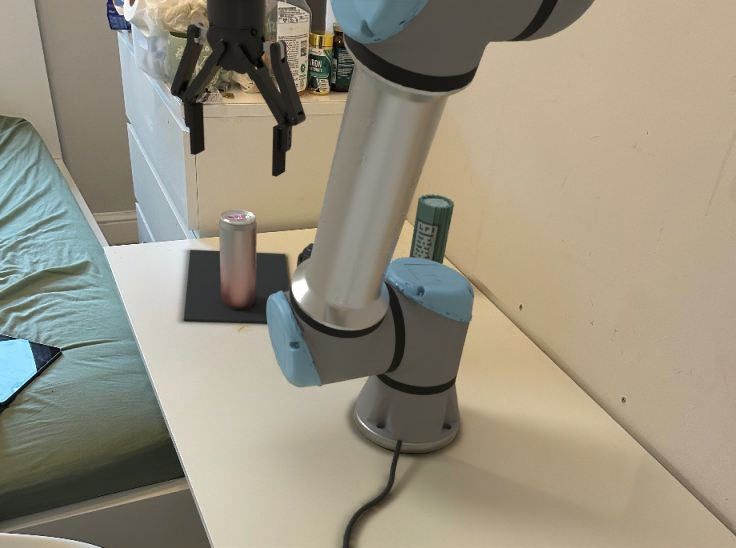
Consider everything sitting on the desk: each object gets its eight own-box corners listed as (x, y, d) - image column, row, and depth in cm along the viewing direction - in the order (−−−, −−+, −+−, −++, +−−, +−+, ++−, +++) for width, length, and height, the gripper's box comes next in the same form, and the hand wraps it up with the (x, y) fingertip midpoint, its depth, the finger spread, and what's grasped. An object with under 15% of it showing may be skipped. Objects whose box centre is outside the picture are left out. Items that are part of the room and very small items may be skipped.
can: (442, 278, 143) (458, 200, 132) (431, 290, 138) (446, 210, 128) (414, 269, 144) (427, 191, 134) (401, 281, 140) (414, 201, 130)
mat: (292, 324, 125) (292, 322, 124) (183, 320, 122) (183, 318, 122) (284, 255, 143) (284, 253, 143) (190, 251, 140) (190, 249, 140)
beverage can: (218, 295, 128) (215, 209, 118) (252, 293, 130) (252, 208, 120) (224, 312, 124) (222, 224, 114) (259, 310, 126) (260, 223, 116)
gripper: (336, 2, 93) (324, 175, 108) (169, -32, 99) (179, 137, 114) (311, 10, 88) (302, 190, 103) (135, -26, 94) (150, 150, 109)
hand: (237, 163), depth 108 cm, fingers open, 13 cm apart
